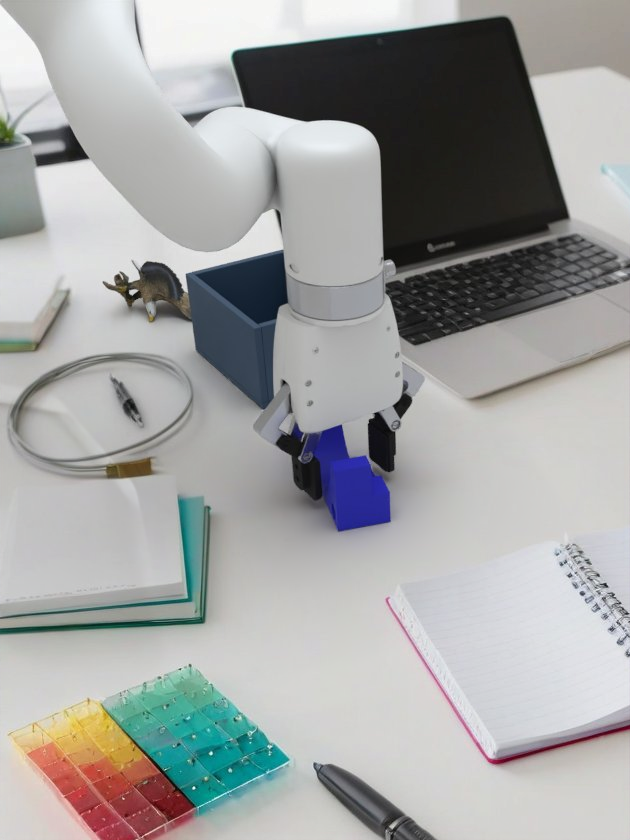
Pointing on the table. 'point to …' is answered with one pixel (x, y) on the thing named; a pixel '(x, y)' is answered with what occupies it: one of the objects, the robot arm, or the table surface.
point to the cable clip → (350, 484)
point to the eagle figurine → (152, 288)
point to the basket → (240, 319)
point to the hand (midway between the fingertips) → (346, 477)
